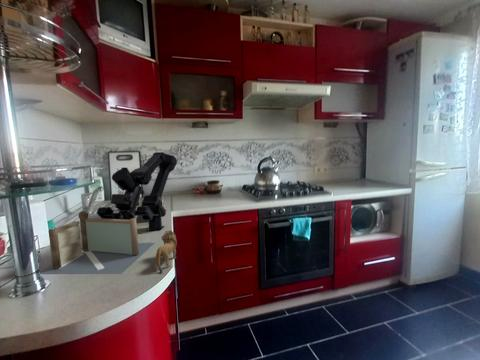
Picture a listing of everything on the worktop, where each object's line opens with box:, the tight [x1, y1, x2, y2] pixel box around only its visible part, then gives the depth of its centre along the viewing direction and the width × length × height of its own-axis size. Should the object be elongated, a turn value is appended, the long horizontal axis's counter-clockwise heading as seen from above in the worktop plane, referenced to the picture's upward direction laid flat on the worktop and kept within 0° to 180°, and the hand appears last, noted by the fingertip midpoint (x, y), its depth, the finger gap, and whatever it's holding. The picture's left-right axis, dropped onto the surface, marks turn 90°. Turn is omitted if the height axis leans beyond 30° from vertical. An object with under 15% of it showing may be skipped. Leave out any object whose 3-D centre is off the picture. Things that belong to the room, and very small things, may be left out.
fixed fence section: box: [48, 210, 89, 270], centre depth 81 cm, size 16×3×14 cm, turn 177°
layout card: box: [39, 242, 155, 275], centre depth 83 cm, size 24×26×1 cm
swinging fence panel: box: [85, 217, 139, 255], centre depth 84 cm, size 2×20×12 cm, turn 75°
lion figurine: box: [154, 229, 178, 274], centre depth 76 cm, size 15×5×9 cm, turn 6°
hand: (117, 234), depth 85 cm, fingers closed
